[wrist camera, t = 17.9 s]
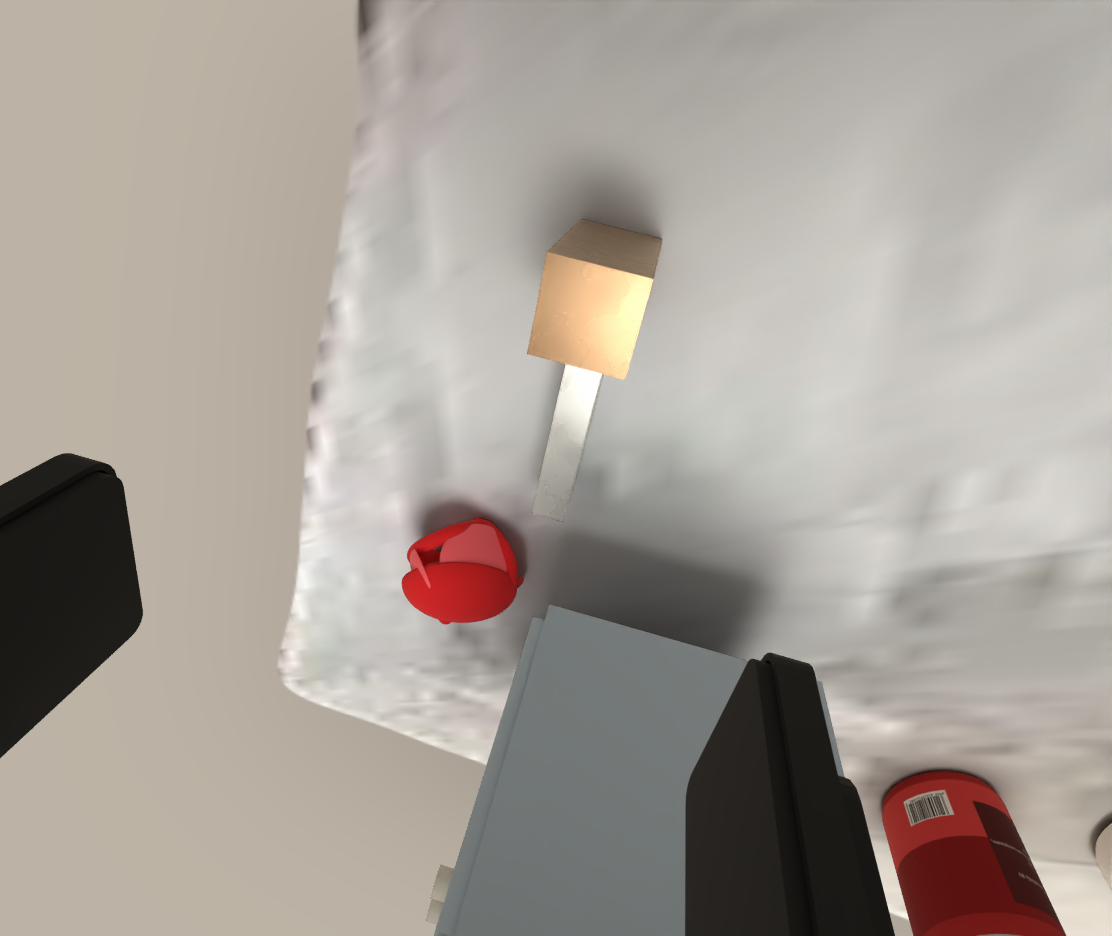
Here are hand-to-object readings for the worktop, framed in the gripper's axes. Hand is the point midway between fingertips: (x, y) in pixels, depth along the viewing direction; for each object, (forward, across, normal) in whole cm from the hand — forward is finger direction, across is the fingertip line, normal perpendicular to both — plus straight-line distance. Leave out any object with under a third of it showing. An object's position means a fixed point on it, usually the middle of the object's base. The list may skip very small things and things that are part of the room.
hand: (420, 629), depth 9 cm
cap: (+27, +4, +19) cm, 33 cm away
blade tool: (+26, 0, +5) cm, 27 cm away
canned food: (+26, -32, +30) cm, 51 cm away
